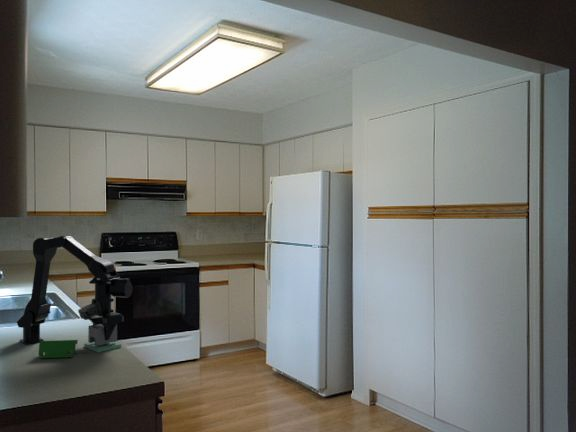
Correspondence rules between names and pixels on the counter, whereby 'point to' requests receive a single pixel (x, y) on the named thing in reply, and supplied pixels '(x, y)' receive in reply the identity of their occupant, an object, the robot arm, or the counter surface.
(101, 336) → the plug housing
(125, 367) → the counter surface
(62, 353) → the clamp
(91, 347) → the pin board
